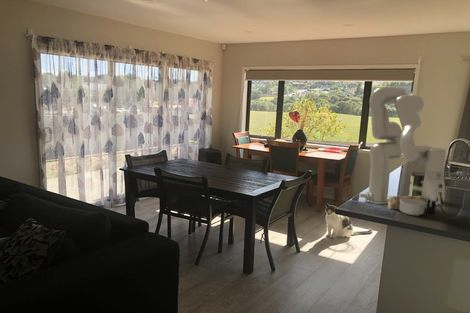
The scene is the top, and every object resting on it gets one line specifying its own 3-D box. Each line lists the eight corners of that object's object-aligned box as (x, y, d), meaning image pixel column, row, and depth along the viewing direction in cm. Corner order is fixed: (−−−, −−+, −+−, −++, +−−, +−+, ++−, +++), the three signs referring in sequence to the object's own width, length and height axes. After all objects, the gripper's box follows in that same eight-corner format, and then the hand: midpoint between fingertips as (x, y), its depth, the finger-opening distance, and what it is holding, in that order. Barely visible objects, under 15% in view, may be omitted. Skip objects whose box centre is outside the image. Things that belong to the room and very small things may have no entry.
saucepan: (447, 219, 167) (448, 208, 167) (399, 214, 174) (400, 203, 173) (441, 213, 178) (443, 201, 177) (397, 208, 184) (398, 197, 184)
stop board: (389, 209, 182) (390, 197, 182) (387, 207, 184) (388, 196, 184) (430, 208, 185) (432, 197, 184) (428, 207, 187) (429, 196, 186)
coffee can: (433, 200, 201) (436, 175, 199) (417, 201, 198) (420, 176, 196) (419, 196, 211) (422, 171, 209) (404, 196, 208) (406, 172, 206)
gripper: (453, 178, 160) (449, 219, 162) (431, 172, 174) (427, 209, 177) (437, 178, 159) (433, 219, 161) (416, 172, 173) (412, 210, 176)
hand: (430, 214), depth 169 cm, fingers closed
